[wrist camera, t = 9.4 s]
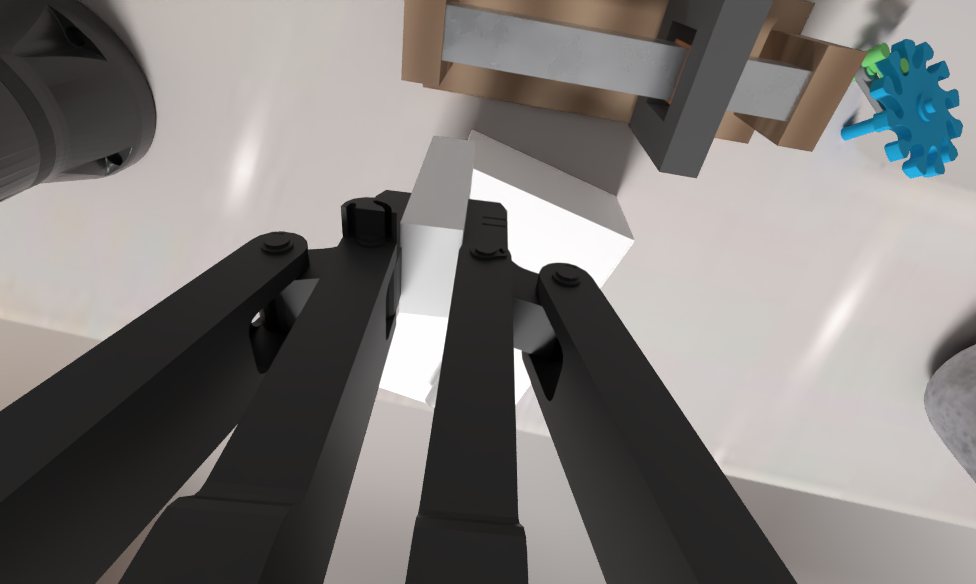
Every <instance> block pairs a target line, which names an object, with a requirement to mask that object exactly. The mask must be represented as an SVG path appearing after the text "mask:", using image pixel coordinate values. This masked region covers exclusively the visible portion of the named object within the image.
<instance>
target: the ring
mask: <svg viewBox="0 0 976 584" xmlns="http://www.w3.org/2000/svg"><path fill="white" fill-rule="evenodd" d="M773 1H774V0H669V2H668V5H667V8H666V11H665V14H664V17H663V20H662V23H661V27H660V30H659V33H658V36H657V39H661V40H666V41H672V42H675V39H682V40H687V41H693V43H692V46H691V49H690V51H689V54H688V57H687V60H686V62H685V65H684V68H683V71H682V73H681V76H680V79H679V82H678V84H677V87H676V90H675V93H674V95H673V98H672V101H671V104H669V103H668V102H667V101H666V100H663V99H658V98H652V97H647V96H641V95H638V98H637V101H636V104H635V107H634V110H633V114H632V117H631V120H630V123H629V127H630V129H631V130H632V132H633V133H634V135H635V136H636V138H637V139H638V141H639V142H640V144H641V145H642V147H643V148H644V150H645V151H646V153H647V154H648V156H649V157H650V159H651V160H652V162H653V163H654V165H655V166H656V168H657V169H658V171H659V172H663V173H669V174H675V175H681V176H687V177H693V178H697V176H698V174H699V172H700V169H701V167H702V165H703V162H704V160H705V158H706V155H707V153H708V151H709V148H710V146H711V144H712V142H713V139H714V137H715V135H716V132H717V130H718V128H719V125H720V123H721V121H722V118H723V116H724V114H725V112H726V109H727V107H728V105H729V102H730V100H731V98H732V95H733V93H734V91H735V88H736V86H737V84H738V82H739V79H740V77H741V75H742V72H743V70H744V68H745V65H746V63H747V61H748V58H749V56H750V54H751V51H752V49H753V47H754V45H755V42H756V40H757V38H758V35H759V33H760V31H761V28H762V26H763V24H764V21H765V19H766V17H767V15H768V12H769V10H770V8H771V5H772V3H773Z"/></svg>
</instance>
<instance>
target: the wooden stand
mask: <svg viewBox="0 0 976 584" xmlns="http://www.w3.org/2000/svg"><path fill="white" fill-rule="evenodd" d="M452 1H453V2H459V3H464V4H470V5H475V6H481V7H486V8H492V9H497V10H503V11H508V12H513V13H519V14H524V15H530V16H535V17H541V18H546V19H552V20H557V21H563V22H568V23H573V24H579V25H584V26H590V27H595V28H601V29H606V30H612V31H617V32H623V33H628V34H634V35H639V36H644V37H650V38H655V39H657V36H658V33H659V30H660V27H661V23H662V20H663V17H664V14H665V11H666V8H667V5H668V2H669V0H405V7H404V31H403V55H402V78H401V80H405V81H411V82H416V83H422V84H423V87H426V88H432V89H438V90H444V91H449V92H455V93H461V94H466V95H472V96H478V97H484V98H489V99H495V100H501V101H507V102H512V103H518V104H524V105H529V106H535V107H541V108H547V109H552V110H558V111H564V112H570V113H575V114H581V115H587V116H592V117H598V118H604V119H610V120H615V121H621V122H627V123H630V120H631V117H632V114H633V110H634V107H635V104H636V101H637V98H638V95H635V94H630V93H624V92H618V91H613V90H607V89H601V88H596V87H590V86H585V85H579V84H573V83H568V82H562V81H556V80H551V79H545V78H539V77H534V76H528V75H523V74H517V73H511V72H506V71H500V70H494V69H489V68H483V67H478V66H472V65H466V64H461V63H455V62H449V61H444V60H442V49H443V38H444V26H445V15H446V5H447V4H448V3H450V2H452ZM814 5H815V3H812V2H807V1H802V0H774V1H773V3H772V5H771V8H770V10H769V12H768V15H767V17H766V19H765V21H764V24H763V26H762V28H761V31H760V33H759V35H758V38H757V40H756V42H755V45H754V47H753V49H752V51H751V54H750V56H754V57H759V58H764V59H770V60H775V61H781V62H786V63H791V64H793V65H796V66H799V67H801V68H804V69H807V70H809V71H812V74H811V76H810V78H809V80H808V82H807V84H806V85H805V87H804V89H803V91H802V93H801V95H800V97H799V99H798V101H797V103H796V105H795V107H794V109H793V111H792V113H791V115H790V117H789V119H788V121H782V120H776V119H771V118H765V117H759V116H754V115H748V114H742V113H737V112H731V111H726V112H725V114H724V116H723V118H722V121H721V123H720V125H719V128H718V130H717V132H716V135H715V137H714V138H719V139H724V140H730V141H736V142H741V143H747V144H748V142H749V140H750V138H751V136H752V134H753V132H754V130H756V131H757V132H759V133H760V134H762V135H763V136H765V137H766V138H767V139H769V140H770V141H772V142H773V143H774V144H776V145H777V146H782V147H788V148H794V149H799V150H805V151H811V152H812V151H813V149H814V147H815V146H816V144H817V142H818V140H819V139H820V137H821V135H822V133H823V131H824V130H825V128H826V126H827V124H828V123H829V121H830V119H831V117H832V115H833V114H834V112H835V110H836V108H837V107H838V105H839V103H840V101H841V100H842V98H843V96H844V94H845V92H846V91H847V89H848V87H849V85H850V84H851V82H852V80H853V78H854V77H855V75H856V73H857V71H858V69H859V68H860V66H861V64H862V62H863V61H864V59H865V57H866V55H867V53H868V52H864V51H860V50H856V49H853V48H849V47H845V46H841V45H837V44H833V43H829V42H826V41H822V40H818V39H814V38H810V37H806V36H803V35H800V34H801V32H802V30H803V28H804V25H805V23H806V21H807V19H808V17H809V15H810V13H811V11H812V9H813V7H814Z"/></svg>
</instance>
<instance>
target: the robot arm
mask: <svg viewBox="0 0 976 584" xmlns="http://www.w3.org/2000/svg"><path fill="white" fill-rule="evenodd" d="M155 124H156V119H155V109H154V104H153V99H152V96H151V92H150V90H149V87H148V84H147V82H146V80H145V77H144V75H143V73H142V71H141V69H140V68H139V66H138V64H137V62H136V61H135V59H134V58H133V56H132V55H131V53H130V52H129V50H128V49H127V48H126V46H125V45H124V44H123V42H122V41H121V40H120V39H119V38H118V37H117V35H116V34H115V33H114V32H113V31H112V30H111V29H110V28H109V27H108V26H107V25H106V24H105V23H104V22H103V21H102V20H101V19H100V18H99V17H97V16H96V15H95V14H94V13H93V12H91V11H90V10H89V9H88V8H86V7H85V6H84V5H82V4H81V3H79V2H78V1H76V0H0V202H2V201H4V200H6V199H8V198H10V197H12V196H14V195H16V194H18V193H20V192H23V191H24V190H26V189H29V188H31V187H33V186H35V185H38V184H40V183H51V182H63V181H75V180H86V179H97V178H103V177H106V176H110V175H113V174H116V173H118V172H120V171H121V170H123V169H125V168H127V167H129V166H131V165H133V164H135V163H136V162H138V161H139V160H140V159H141V158H142V157H143V156H144V155H145V154H146V153H147V151H148V150H149V148H150V146H151V144H152V141H153V138H154V133H155ZM475 147H476V141H470V140H463V139H455V138H447V137H439V136H433V139H432V141H431V144H430V146H429V149H428V152H427V154H426V157H425V160H424V162H423V165H422V167H421V170H420V173H419V175H418V178H417V180H416V183H415V186H414V188H413V191H412V193H407V192H399V191H391V190H386V191H384V192H382V193H381V194H379V195H377V196H376V197H375V198H368V197H363V198H356V199H352V200H349V201H347V202H345V203H344V204H343V205H342V206H341V216H342V231H343V238H342V239H341V241H340V243H339V245H338V246H337V247H333V248H325V249H310V250H308V244H307V241H306V240H305V239H304V238H303V237H302V236H300V235H297V234H295V233H289V232H280V231H279V232H271V233H267V234H263V235H260V236H258V237H256V238H254V239H252V240H250V241H249V242H248V243H246V244H245V245H243V246H242V247H240V248H239V249H237V250H236V251H234V252H233V253H231V254H230V255H228V256H227V257H226V258H224V259H223V260H221V261H220V262H218V263H217V264H215V265H214V266H212V267H211V268H209V269H208V270H207V271H205V272H204V273H202V274H201V275H199V276H198V277H196V278H195V279H193V280H192V281H190V282H189V283H187V284H186V285H185V286H183V287H182V288H180V289H179V290H177V291H176V292H174V293H173V294H171V295H170V296H168V297H167V298H166V299H164V300H163V301H161V302H160V303H158V304H157V305H155V306H154V307H152V308H151V309H149V310H148V311H146V312H145V313H144V314H142V315H141V316H139V317H138V318H136V319H135V320H133V321H132V322H130V323H129V324H127V325H126V326H125V327H123V328H122V329H120V330H119V331H117V332H116V333H114V334H113V335H111V336H110V337H108V338H107V339H105V340H104V341H103V342H101V343H100V344H98V345H97V346H95V347H94V348H93V349H91V350H89V351H88V352H87V353H85V354H84V355H82V356H81V357H79V358H78V359H76V360H75V361H74V362H72V363H70V364H69V365H67V366H66V367H64V368H63V369H62V370H60V371H59V372H57V373H56V374H54V375H53V376H52V377H50V378H48V379H47V380H46V381H44V382H43V383H41V384H40V385H38V386H37V387H35V388H34V389H32V390H31V391H29V392H28V393H27V394H25V395H23V396H22V397H21V398H19V399H18V400H16V401H15V402H13V403H12V404H10V405H9V406H7V407H6V408H4V409H3V410H2V411H0V584H95V583H96V582H97V581H98V580H99V579H100V578H101V576H102V575H103V574H104V573H105V572H106V571H107V570H108V568H109V567H110V566H111V565H112V564H113V563H114V562H115V561H116V560H117V558H118V557H119V556H120V555H121V554H122V553H123V552H124V551H125V550H126V548H127V547H128V546H129V545H130V544H131V543H132V542H133V541H134V539H135V538H136V537H137V536H138V535H139V534H140V533H141V531H143V529H144V528H145V527H146V526H147V525H148V524H149V523H150V522H151V520H152V519H153V518H154V517H155V516H156V515H157V514H158V513H159V511H160V510H161V509H162V508H163V507H164V506H165V505H166V503H168V501H169V500H170V499H171V498H172V497H173V496H174V495H175V493H176V492H177V491H178V490H179V489H180V488H181V487H182V486H183V485H184V483H185V482H186V481H187V480H188V479H189V478H190V477H191V476H192V474H193V473H194V472H195V471H196V470H197V469H198V468H199V467H200V466H201V465H202V463H203V462H204V461H205V460H206V459H207V458H208V457H209V456H210V454H211V453H212V452H213V451H214V450H215V449H216V448H217V447H218V445H219V444H220V443H221V442H222V441H223V440H224V439H225V438H226V436H227V435H228V434H229V433H230V432H231V431H232V430H233V429H234V428H235V426H236V425H237V424H238V425H237V427H236V429H235V430H234V432H233V434H232V436H231V437H230V440H229V441H228V443H227V445H226V447H225V448H224V450H223V452H222V454H221V455H220V457H219V459H218V461H217V462H216V464H215V466H214V468H213V470H212V471H211V473H210V475H209V477H208V479H207V480H206V482H205V483H204V485H203V486H202V488H201V489H200V491H199V492H197V493H196V494H195V495H192V496H185V497H179V498H177V499H176V500H175V501H174V502H172V503H171V504H170V505H169V506H167V508H166V509H165V510H164V512H163V513H162V514H161V516H160V517H159V518H158V520H157V521H156V522H155V524H154V526H153V527H152V529H151V530H150V532H149V534H148V535H147V537H146V539H145V541H144V542H143V544H142V545H141V547H140V549H139V550H138V552H137V553H136V555H135V557H134V558H133V560H132V562H131V564H130V565H129V567H128V568H127V570H126V572H125V573H124V575H123V577H122V578H121V580H120V581H119V583H118V584H323V582H324V578H325V575H326V571H327V568H328V564H329V561H330V557H331V554H332V550H333V547H334V543H335V539H336V536H337V533H338V529H339V526H340V521H341V518H342V515H343V511H344V508H345V504H346V500H347V497H348V494H349V490H350V487H351V483H352V479H353V476H354V472H355V469H356V465H357V462H358V458H359V455H360V451H361V447H362V444H363V440H364V437H365V433H366V430H367V426H368V423H369V419H370V416H371V412H372V409H373V405H374V402H375V398H376V395H377V391H378V388H379V384H380V381H381V377H382V373H383V370H384V366H385V363H386V359H387V356H388V352H389V349H390V345H391V342H392V338H393V335H394V331H395V328H396V309H397V306H398V303H399V313H408V314H417V315H426V316H435V317H444V318H448V324H447V331H446V337H445V344H444V350H443V357H442V363H441V370H440V376H439V383H438V390H437V396H436V403H435V409H434V416H433V422H432V429H431V435H430V442H429V448H428V455H427V461H426V468H425V474H424V481H423V488H422V494H421V501H420V507H419V512H418V515H417V517H416V521H415V526H414V532H413V538H412V544H411V550H410V556H409V563H408V569H407V576H406V582H405V584H528V564H527V546H526V535H525V531H524V527H523V526H522V525H521V524H520V523H519V519H518V498H517V497H518V496H517V461H516V460H517V458H516V457H517V456H516V415H515V374H514V348H516V349H518V350H521V351H522V352H521V353H522V360H523V363H524V365H525V368H526V371H527V373H528V376H529V379H530V381H531V384H532V387H533V389H534V392H535V395H536V397H537V400H538V403H539V405H540V408H541V411H542V413H543V416H544V419H545V421H546V424H547V427H548V429H549V432H550V434H551V437H552V440H553V442H554V445H555V448H556V450H557V453H558V456H559V458H560V461H561V464H562V466H563V469H564V472H565V474H566V477H567V479H568V482H569V485H570V488H571V490H572V493H573V496H574V498H575V501H576V504H577V506H578V508H579V512H580V514H581V517H582V520H583V522H584V525H585V527H586V530H587V533H588V535H589V538H590V541H591V543H592V546H593V549H594V551H595V554H596V556H597V559H598V562H599V565H600V567H601V570H602V573H603V575H604V578H605V581H606V583H607V584H797V583H796V581H795V579H794V578H793V576H792V575H791V573H790V572H789V570H788V569H787V568H786V566H785V564H784V563H783V562H782V560H781V559H780V557H779V556H778V554H777V553H776V551H775V550H774V548H773V547H772V545H771V544H770V542H769V541H768V539H767V538H766V536H765V535H764V533H763V532H762V530H761V529H760V527H759V526H758V524H757V523H756V521H755V520H754V518H753V517H752V515H751V514H750V512H749V511H748V509H747V508H746V506H745V505H744V503H743V502H742V500H741V499H740V497H739V496H738V494H737V493H736V491H735V490H734V488H733V487H732V485H731V484H730V482H729V481H728V479H727V478H726V476H725V475H724V473H723V472H722V470H721V469H720V467H719V466H718V464H717V463H716V461H715V460H714V458H713V457H712V455H711V454H710V452H709V451H708V449H707V448H706V447H705V445H704V444H703V442H702V441H701V439H700V438H699V436H698V435H697V433H696V432H695V430H694V429H693V427H692V426H691V424H690V423H689V421H688V420H687V418H686V417H685V415H684V414H683V412H682V411H681V409H680V408H679V406H678V405H677V403H676V402H675V400H674V399H673V397H672V396H671V394H670V393H669V391H668V390H667V388H666V387H665V385H664V384H663V382H662V381H661V379H660V378H659V376H658V375H657V373H656V372H655V370H654V369H653V367H652V366H651V364H650V363H649V361H648V360H647V358H646V357H645V355H644V354H643V352H642V351H641V349H640V348H639V347H638V345H637V344H636V342H635V341H634V339H633V338H632V336H631V335H630V333H629V332H628V330H627V329H626V327H625V326H624V324H623V323H622V321H621V320H620V318H619V317H618V315H617V314H616V312H615V311H614V309H613V308H612V306H611V305H610V303H609V302H608V300H607V299H606V297H605V296H604V294H603V293H602V291H601V290H600V288H599V287H598V285H597V284H596V282H595V281H594V279H593V278H592V277H591V276H590V275H589V274H588V273H587V272H586V271H585V270H583V269H581V268H579V267H578V266H575V265H573V264H572V265H571V264H569V263H558V262H557V263H550V264H547V265H545V266H543V267H542V268H541V270H540V272H539V274H538V273H535V272H532V271H529V270H526V269H524V268H522V267H520V266H518V265H517V264H516V263H514V262H513V261H512V256H511V253H510V251H509V250H508V228H507V227H508V222H507V210H506V209H505V208H504V206H503V205H502V204H501V203H499V202H491V201H483V200H474V199H470V194H471V184H472V175H473V165H474V156H475ZM258 312H259V314H260V317H259V318H258V319H257V320H256V321H255V322H253V323H251V322H252V319H253V318H254V317H255V316H256V314H257V313H258Z"/></svg>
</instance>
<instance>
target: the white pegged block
mask: <svg viewBox="0 0 976 584" xmlns="http://www.w3.org/2000/svg"><path fill="white" fill-rule="evenodd" d="M468 140H470V141H476V147H475V156H474V165H473V175H472V184H471V194H470V199H474V200H483V201H491V202H499V203H501V204H502V205H503V206H504V208H505V209H506V210H507V222H508V227H507V228H508V250H509V251H510V253H511V256H512V261H513V262H514V263H516V264H517V265H518V266H520V267H522V268H524V269H526V270H529V271H532V272H535V273H538V274H539V272H540V270H541V268H542V267H543V266H545V265H547V264H550V263H557V262H558V263H569V264H571V265H572V264H573V265H575V266H578V267H579V268H581V269H583V270H585V271H586V272H587V273H588V274H589V275H590V276H591V277H592V278H593V279H594V281H595V282H596V284H597V285H598V287H599V288H601V287H602V285H603V284H604V283H605V281H606V280H607V278H608V277H609V276H610V274H611V273H612V272H613V270H614V269H615V267H616V266H617V265H618V263H619V262H620V261H621V259H622V258H623V256H624V255H625V254H626V252H627V251H628V250H629V248H630V247H631V245H632V244H633V243H634V241H635V240H634V238H633V235H632V233H631V230H630V228H629V226H628V223H627V221H626V218H625V216H624V214H623V211H622V209H621V207H620V204H619V202H618V199H617V197H616V196H614V195H612V194H610V193H608V192H606V191H603V190H601V189H599V188H597V187H595V186H593V185H591V184H588V183H586V182H584V181H582V180H580V179H578V178H575V177H573V176H571V175H569V174H567V173H565V172H563V171H560V170H558V169H556V168H554V167H552V166H550V165H548V164H545V163H543V162H541V161H539V160H537V159H535V158H532V157H530V156H528V155H526V154H524V153H522V152H520V151H517V150H515V149H513V148H511V147H509V146H507V145H505V144H502V143H500V142H498V141H496V140H494V139H492V138H490V137H487V136H485V135H483V134H481V133H479V132H477V131H474V130H471V132H470V135H469V137H468ZM447 324H448V318H444V317H435V316H426V315H417V314H408V313H399V304H398V306H397V309H396V328H395V331H394V335H393V338H392V342H391V345H390V349H389V352H388V356H387V359H386V363H385V366H384V370H383V373H382V377H381V381H380V384H379V387H380V388H383V389H386V390H389V391H392V392H395V393H398V394H401V395H404V396H407V397H410V398H413V399H416V400H419V401H422V402H425V403H427V404H428V405H429V406H431V407H433V408H435V403H436V396H437V390H438V383H439V376H440V370H441V363H442V357H443V350H444V344H445V337H446V331H447ZM521 352H522V351H521V350H518V349H516V348H514V374H515V405H516V404H517V402H518V401H519V399H520V398H521V397H522V395H523V394H524V393H525V391H526V390H527V388H528V387H529V386H530V384H531V381H530V379H529V376H528V373H527V371H526V368H525V365H524V363H523V360H522V353H521Z"/></svg>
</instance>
